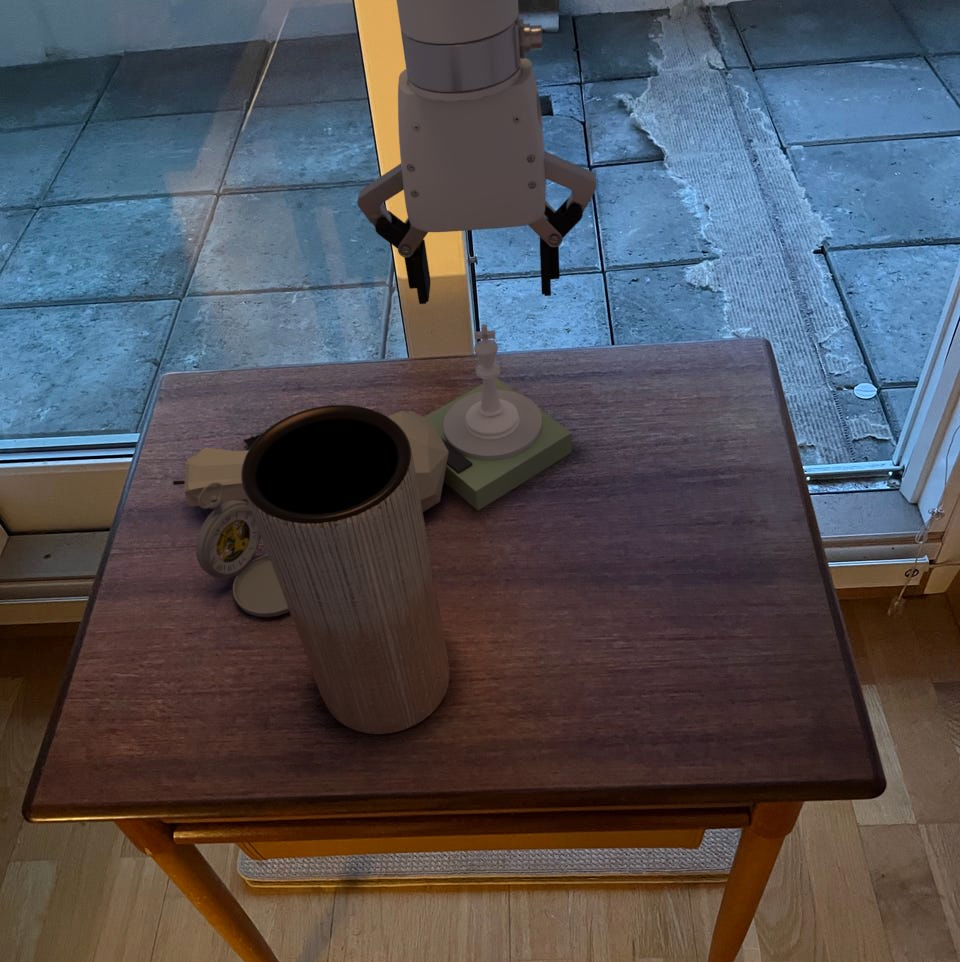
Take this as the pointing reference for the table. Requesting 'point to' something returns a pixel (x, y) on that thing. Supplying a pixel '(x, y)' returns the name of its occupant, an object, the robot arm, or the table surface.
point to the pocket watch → (238, 556)
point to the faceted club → (228, 463)
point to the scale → (497, 447)
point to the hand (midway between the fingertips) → (485, 290)
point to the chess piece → (490, 395)
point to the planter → (352, 561)
